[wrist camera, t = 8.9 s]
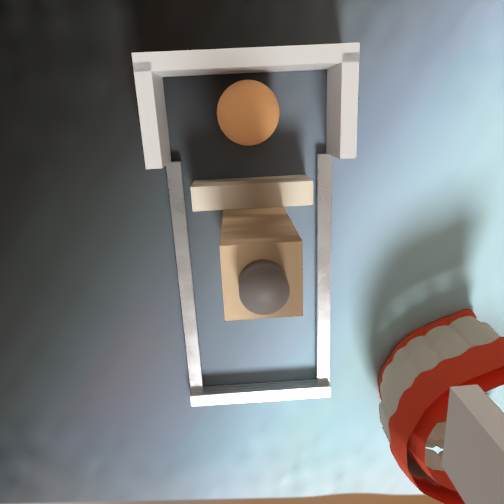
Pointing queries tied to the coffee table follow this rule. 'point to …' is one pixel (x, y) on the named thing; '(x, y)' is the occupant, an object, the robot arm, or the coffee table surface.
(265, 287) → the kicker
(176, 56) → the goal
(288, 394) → the rails
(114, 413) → the coffee table surface
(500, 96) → the coffee table surface
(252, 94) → the ball
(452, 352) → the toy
